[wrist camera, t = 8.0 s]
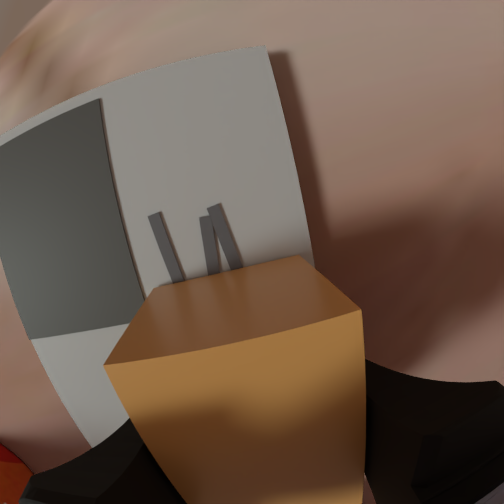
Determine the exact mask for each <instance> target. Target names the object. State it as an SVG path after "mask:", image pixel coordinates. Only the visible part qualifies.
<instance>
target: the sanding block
mask: <svg viewBox="0 0 504 504" xmlns="http://www.w3.org/2000/svg"><path fill="white" fill-rule="evenodd" d="M103 367H104V369H105V371H106V373H107V375H108V377H109V379H110V381H111V383H112V385H113V387H114V389H115V391H116V393H117V395H118V397H119V399H120V401H121V403H122V405H123V407H124V408H125V410H126V412H127V414H128V416H129V417H130V419H131V421H132V423H133V424H134V426H135V428H136V430H137V431H138V433H139V435H140V436H141V438H142V439H143V441H144V443H145V444H146V446H147V448H148V449H149V451H150V452H151V454H152V455H153V457H154V458H155V460H156V461H157V463H158V464H159V466H160V467H161V469H162V470H163V472H164V473H165V475H166V476H167V477H168V479H169V480H170V482H171V483H172V484H173V486H174V487H175V488H176V490H177V491H178V492H179V494H180V495H181V496H182V498H183V499H184V500H185V502H186V503H187V504H362V497H363V485H364V470H365V448H366V376H365V352H364V336H363V322H362V310H361V309H360V308H359V307H358V306H357V305H356V304H355V303H354V302H353V301H351V300H350V299H349V298H348V297H347V296H346V295H345V294H344V293H342V292H341V291H340V290H339V289H338V288H337V287H336V286H335V285H333V284H332V283H331V282H330V281H329V280H328V279H327V278H325V277H324V276H323V275H322V274H321V273H320V272H318V271H317V270H316V269H315V268H314V267H313V266H312V265H310V264H309V263H308V262H307V261H306V260H305V259H303V258H302V257H301V256H300V255H295V256H291V257H286V258H282V259H278V260H274V261H269V262H265V263H261V264H257V265H252V266H248V267H244V268H239V269H235V270H231V271H226V272H222V273H218V274H213V275H209V276H205V277H200V278H196V279H192V280H187V281H183V282H178V283H174V284H169V285H165V286H160V287H156V288H153V290H152V291H151V293H150V294H149V295H148V297H147V298H146V300H145V301H144V303H143V304H142V306H141V307H140V309H139V310H138V312H137V313H136V315H135V316H134V318H133V319H132V321H131V322H130V324H129V325H128V327H127V328H126V330H125V331H124V333H123V335H122V336H121V338H120V339H119V341H118V342H117V344H116V345H115V347H114V349H113V350H112V352H111V353H110V355H109V356H108V358H107V360H106V361H105V363H104V364H103Z"/></svg>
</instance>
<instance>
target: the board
mask: <svg viewBox="0 0 504 504" xmlns="http://www.w3.org/2000/svg"><path fill="white" fill-rule="evenodd" d="M295 255H300V256H301V257H302V258H303V259H305V260H306V261H307V262H308V263H309V264H310V265H312V266H313V267H314V268H315V264H314V258H313V253H312V247H311V241H310V236H309V230H308V225H307V220H306V215H305V209H304V204H303V199H302V194H301V189H300V185H299V180H298V175H297V170H296V166H295V161H294V157H293V152H292V148H291V143H290V139H289V135H288V130H287V126H286V122H285V118H284V114H283V110H282V106H281V102H280V98H279V94H278V90H277V86H276V82H275V78H274V75H273V71H272V67H271V64H270V60H269V56H268V53H267V49H266V46H265V45H264V46H256V47H249V48H242V49H236V50H230V51H224V52H219V53H214V54H209V55H204V56H199V57H195V58H190V59H186V60H182V61H178V62H174V63H170V64H167V65H163V66H159V67H156V68H152V69H149V70H146V71H142V72H139V73H136V74H133V75H130V76H127V77H124V78H121V79H118V80H116V81H113V82H110V83H107V84H105V85H102V86H100V87H97V88H94V89H92V90H89V91H87V92H85V93H82V94H80V95H78V96H75V97H73V98H71V99H69V100H66V101H64V102H62V103H60V104H58V105H56V106H53V107H51V108H49V109H47V110H45V111H43V112H41V113H39V114H38V115H36V116H34V117H32V118H30V119H28V120H26V121H24V122H23V123H21V124H19V125H17V126H16V127H14V128H12V129H10V130H9V131H7V132H5V133H4V134H2V135H0V257H1V261H2V264H3V268H4V271H5V275H6V278H7V281H8V284H9V287H10V290H11V293H12V296H13V299H14V302H15V305H16V307H17V310H18V313H19V315H20V318H21V321H22V323H23V326H24V328H25V330H26V333H27V335H28V338H29V340H31V341H32V343H33V345H34V348H35V350H36V352H37V354H38V356H39V358H40V361H41V363H42V365H43V367H44V369H45V371H46V373H47V375H48V376H49V378H50V380H51V382H52V384H53V386H54V388H55V390H56V391H57V393H58V395H59V397H60V398H61V400H62V402H63V404H64V405H65V407H66V409H67V410H68V412H69V414H70V415H71V417H72V418H73V420H74V422H75V423H76V425H77V426H78V428H79V429H80V431H81V432H82V434H83V435H84V437H85V438H86V440H87V441H88V443H89V444H90V446H91V447H92V448H93V447H95V446H96V445H98V444H100V443H101V442H102V441H104V440H105V439H106V438H108V437H109V436H110V435H111V434H113V433H114V432H115V431H116V430H117V429H118V428H120V427H121V426H122V425H123V424H124V423H125V422H126V421H127V420H128V419H129V418H130V417H129V416H128V414H127V412H126V410H125V408H124V407H123V405H122V403H121V401H120V399H119V397H118V395H117V393H116V391H115V389H114V387H113V385H112V383H111V381H110V379H109V377H108V375H107V373H106V371H105V369H104V367H103V364H104V363H105V361H106V360H107V358H108V356H109V355H110V353H111V352H112V350H113V349H114V347H115V345H116V344H117V342H118V341H119V339H120V338H121V336H122V335H123V333H124V331H125V330H126V328H127V327H128V325H129V324H130V322H131V321H132V319H133V318H134V316H135V315H136V313H137V312H138V310H139V309H140V307H141V306H142V304H143V303H144V301H145V300H146V298H147V297H148V295H149V294H150V293H151V291H152V290H153V288H156V287H160V286H165V285H169V284H174V283H178V282H183V281H187V280H192V279H196V278H200V277H205V276H209V275H213V274H218V273H222V272H226V271H231V270H235V269H239V268H244V267H248V266H252V265H257V264H261V263H265V262H269V261H274V260H278V259H282V258H286V257H291V256H295Z"/></svg>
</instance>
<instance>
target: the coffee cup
mask: <svg viewBox="0 0 504 504" xmlns="http://www.w3.org/2000/svg"><path fill="white" fill-rule="evenodd" d="M32 475H34V474H33V473H32V472H31V470H30V469H29V468H28V467H27V466H26V465H25V464H24V463H23V462H22V461H21V460H20V459H19V458H18V457H17V456H16V455H15V454H14V453H12V452H11V451H10V450H9V449H7V448H6V447H5V446H3V445H2V444H0V504H19V502H18V501H19V499H20V497H21V495H22V493H23V491H24V489H25V487H26V485H27V483H28V481H29V479H30V477H31V476H32Z"/></svg>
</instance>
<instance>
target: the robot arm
mask: <svg viewBox="0 0 504 504" xmlns="http://www.w3.org/2000/svg"><path fill="white" fill-rule="evenodd" d="M365 376H366V448H365V470H364V473H365V475H366V477H367V480H368V483H369V485H370V488H371V490H372V493H373V495H374V498H375V501H376V503H377V504H504V386H503V385H501V384H500V383H499V382H497V381H485V382H467V383H465V382H445V381H436V380H430V379H423V378H418V377H414V376H410V375H406V374H403V373H399V372H396V371H393V370H390V369H388V368H385V367H382V366H380V365H377V364H375V363H373V362H371V361H368V360H366V359H365ZM18 502H19V504H187V503H186V502H185V500H184V499H183V498H182V496H181V495H180V494H179V492H178V491H177V490H176V488H175V487H174V486H173V484H172V483H171V482H170V480H169V479H168V477H167V476H166V475H165V473H164V472H163V470H162V469H161V467H160V466H159V464H158V463H157V461H156V460H155V458H154V457H153V455H152V454H151V452H150V451H149V449H148V448H147V446H146V444H145V443H144V441H143V439H142V438H141V436H140V435H139V433H138V431H137V430H136V428H135V426H134V424H133V423H132V421H131V419H130V418H129V419H128V420H127V421H126V422H125V423H124V424H123V425H122V426H121V427H120V428H118V429H117V430H116V431H115V432H114V433H113V434H111V435H110V436H109V437H108V438H106V439H105V440H104V441H102V442H101V443H100V444H98V445H96V446H95V447H93V448H92V449H90V450H89V451H87V452H86V453H84V454H82V455H81V456H79V457H77V458H75V459H73V460H71V461H69V462H67V463H65V464H63V465H61V466H58V467H56V468H53V469H50V470H48V471H45V472H42V473H39V474H36V475H32V476H31V477H30V479H29V481H28V483H27V485H26V487H25V489H24V491H23V493H22V495H21V497H20V499H19V501H18Z"/></svg>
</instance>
